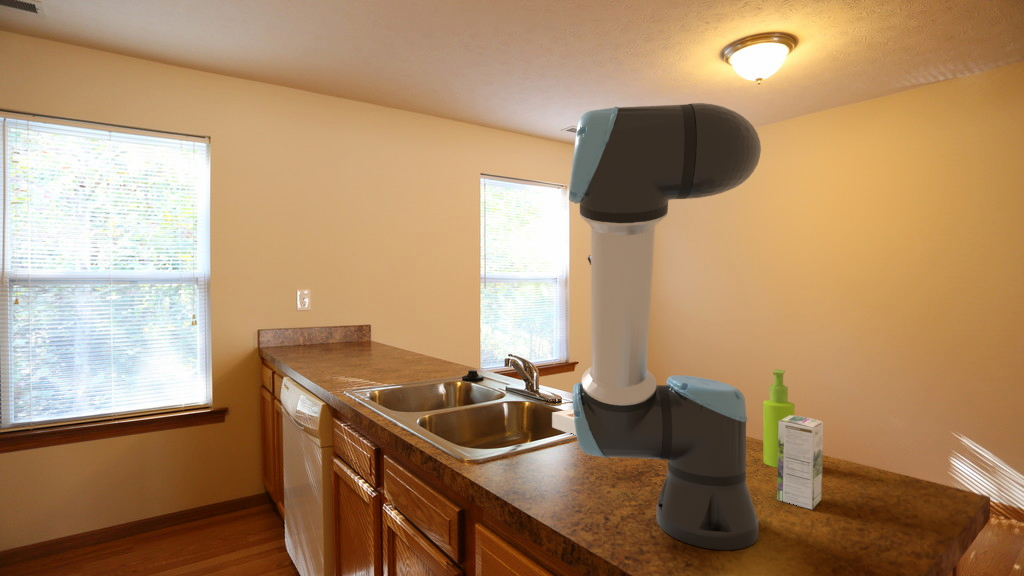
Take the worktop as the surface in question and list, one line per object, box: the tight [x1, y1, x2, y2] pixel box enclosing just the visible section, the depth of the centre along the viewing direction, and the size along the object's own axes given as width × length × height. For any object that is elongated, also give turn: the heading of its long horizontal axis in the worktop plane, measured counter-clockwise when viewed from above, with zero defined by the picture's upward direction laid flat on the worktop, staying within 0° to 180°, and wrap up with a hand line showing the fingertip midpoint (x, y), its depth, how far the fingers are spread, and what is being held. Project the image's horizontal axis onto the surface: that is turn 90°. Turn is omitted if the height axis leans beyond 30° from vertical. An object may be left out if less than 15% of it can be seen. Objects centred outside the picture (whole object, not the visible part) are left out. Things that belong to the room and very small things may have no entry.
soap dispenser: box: [762, 368, 795, 469], centre depth 108 cm, size 6×7×20 cm
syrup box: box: [776, 415, 824, 510], centre depth 89 cm, size 6×6×14 cm
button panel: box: [551, 408, 576, 434], centre depth 137 cm, size 26×14×4 cm, turn 125°
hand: (611, 329), depth 113 cm, fingers closed
